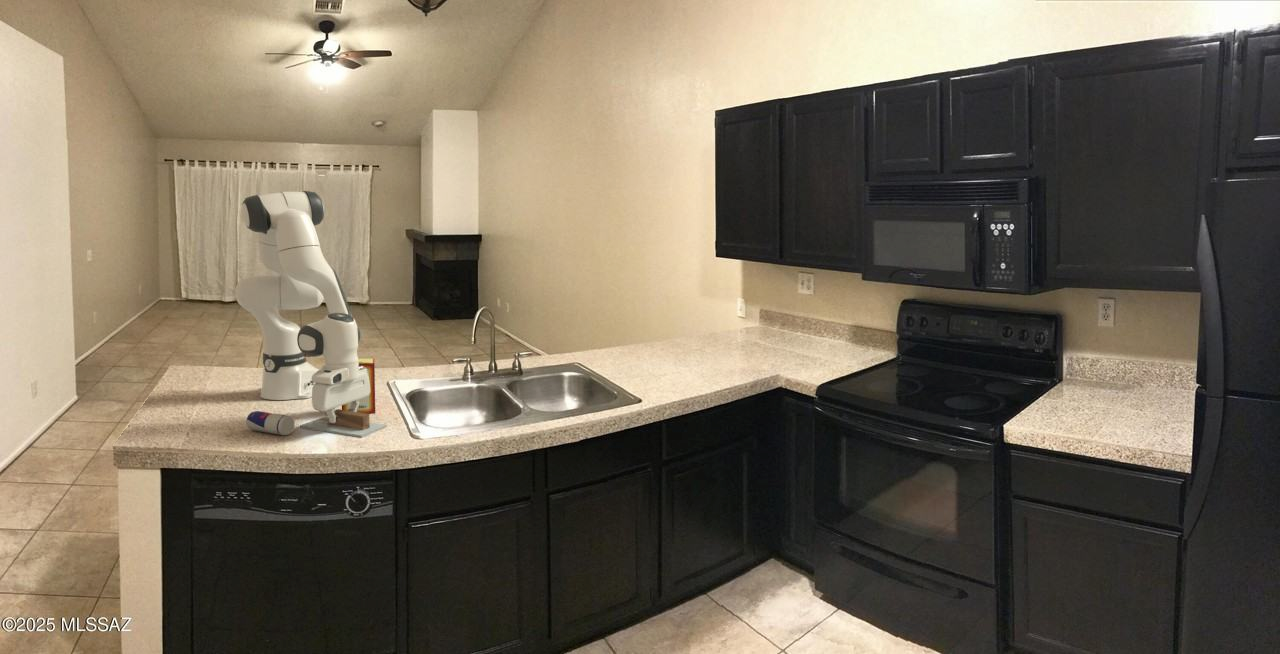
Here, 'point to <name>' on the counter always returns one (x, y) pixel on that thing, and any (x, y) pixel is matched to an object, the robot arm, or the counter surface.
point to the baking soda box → (368, 402)
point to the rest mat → (345, 429)
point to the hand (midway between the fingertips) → (343, 418)
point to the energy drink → (270, 423)
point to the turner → (346, 420)
